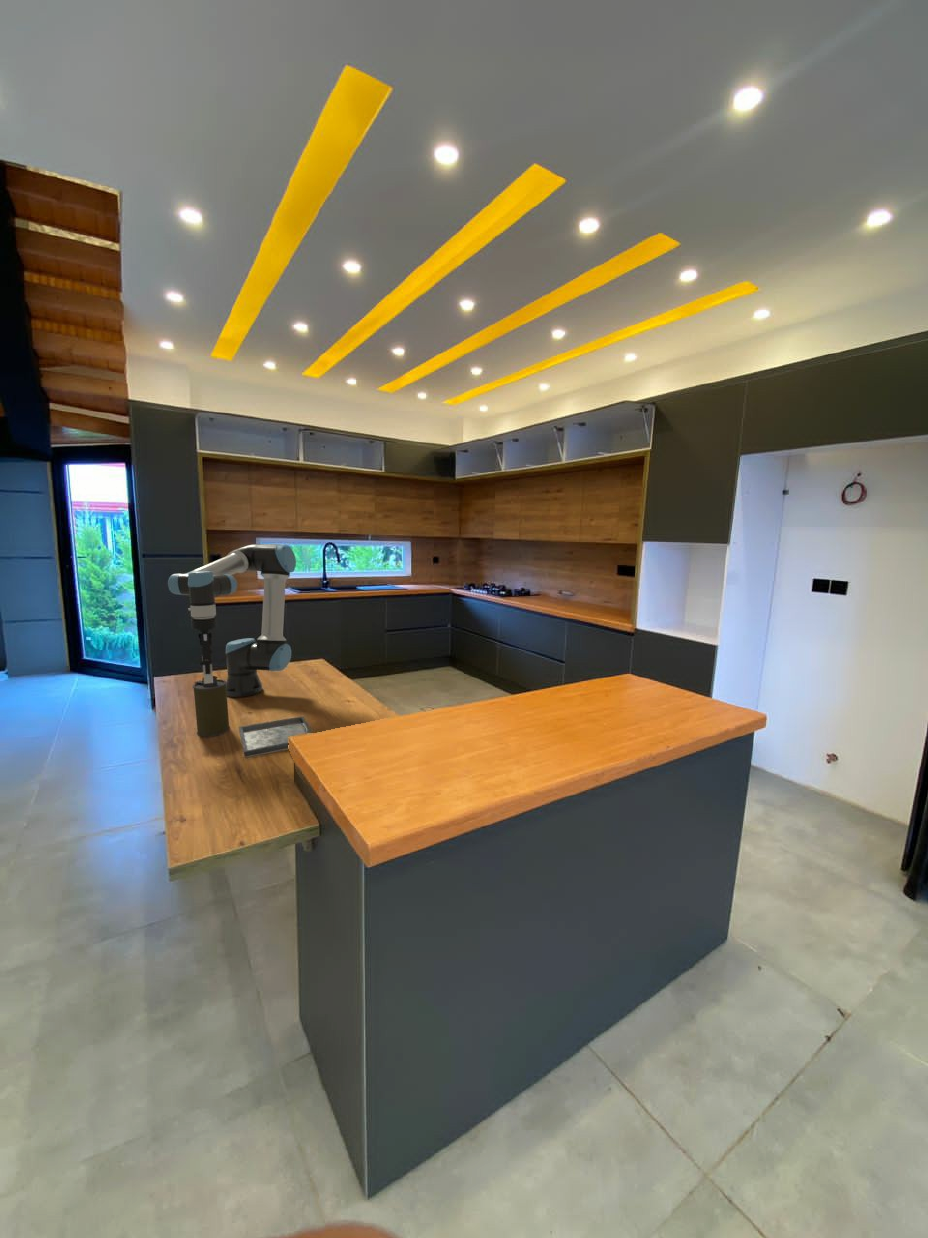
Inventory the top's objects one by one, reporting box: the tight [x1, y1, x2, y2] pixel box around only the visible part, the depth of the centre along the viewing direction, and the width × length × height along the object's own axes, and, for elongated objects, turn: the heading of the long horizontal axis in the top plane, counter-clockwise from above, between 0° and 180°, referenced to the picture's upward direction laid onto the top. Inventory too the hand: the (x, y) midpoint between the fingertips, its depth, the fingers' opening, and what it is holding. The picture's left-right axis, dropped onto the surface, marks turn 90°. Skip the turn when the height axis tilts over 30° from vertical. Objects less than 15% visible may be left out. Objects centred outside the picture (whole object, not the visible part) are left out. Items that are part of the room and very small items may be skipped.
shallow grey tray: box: [238, 715, 314, 758], centre depth 166 cm, size 22×22×2 cm
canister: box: [192, 675, 231, 738], centre depth 169 cm, size 11×10×20 cm
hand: (208, 677), depth 167 cm, fingers open, 13 cm apart
